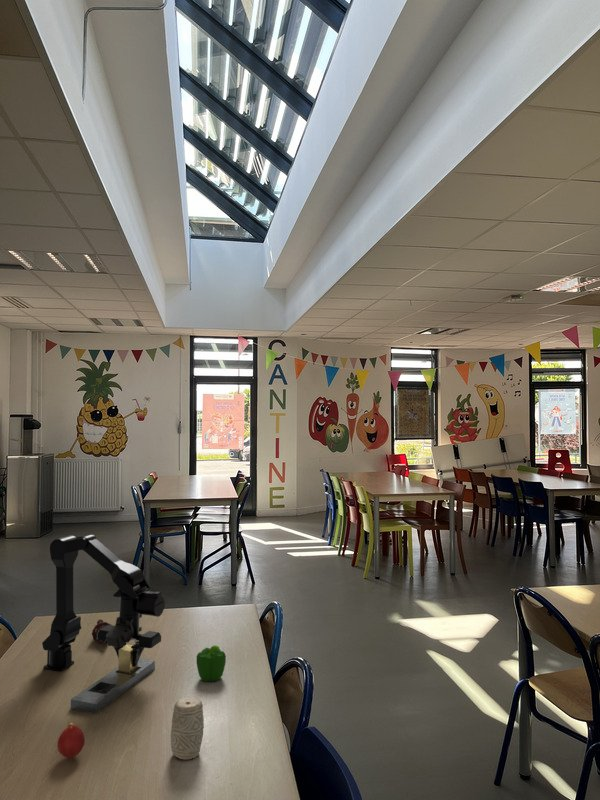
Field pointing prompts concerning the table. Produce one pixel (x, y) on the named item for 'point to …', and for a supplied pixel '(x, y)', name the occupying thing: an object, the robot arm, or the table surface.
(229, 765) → the table surface
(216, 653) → the bell pepper
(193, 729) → the carving
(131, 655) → the brass peg
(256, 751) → the table surface
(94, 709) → the rail
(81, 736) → the onion
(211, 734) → the table surface
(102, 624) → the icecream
